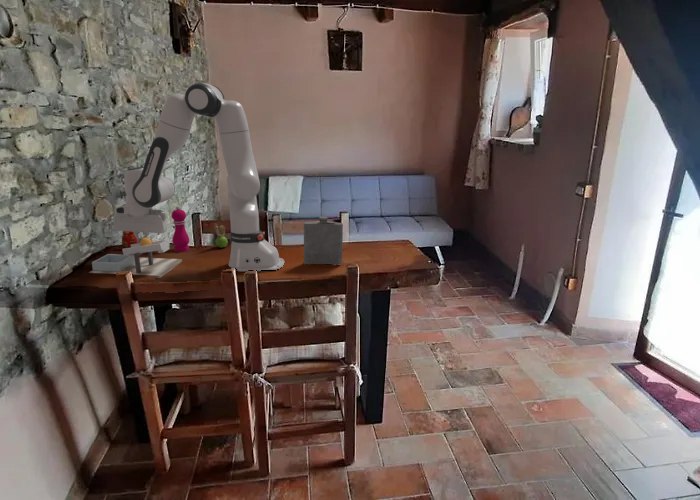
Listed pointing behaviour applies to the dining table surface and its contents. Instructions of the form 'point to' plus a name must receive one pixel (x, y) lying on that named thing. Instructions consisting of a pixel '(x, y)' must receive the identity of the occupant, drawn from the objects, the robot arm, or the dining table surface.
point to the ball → (145, 242)
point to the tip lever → (148, 247)
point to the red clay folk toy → (128, 239)
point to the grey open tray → (113, 263)
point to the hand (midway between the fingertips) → (142, 242)
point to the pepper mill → (180, 231)
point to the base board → (149, 266)
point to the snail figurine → (221, 236)
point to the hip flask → (323, 242)
